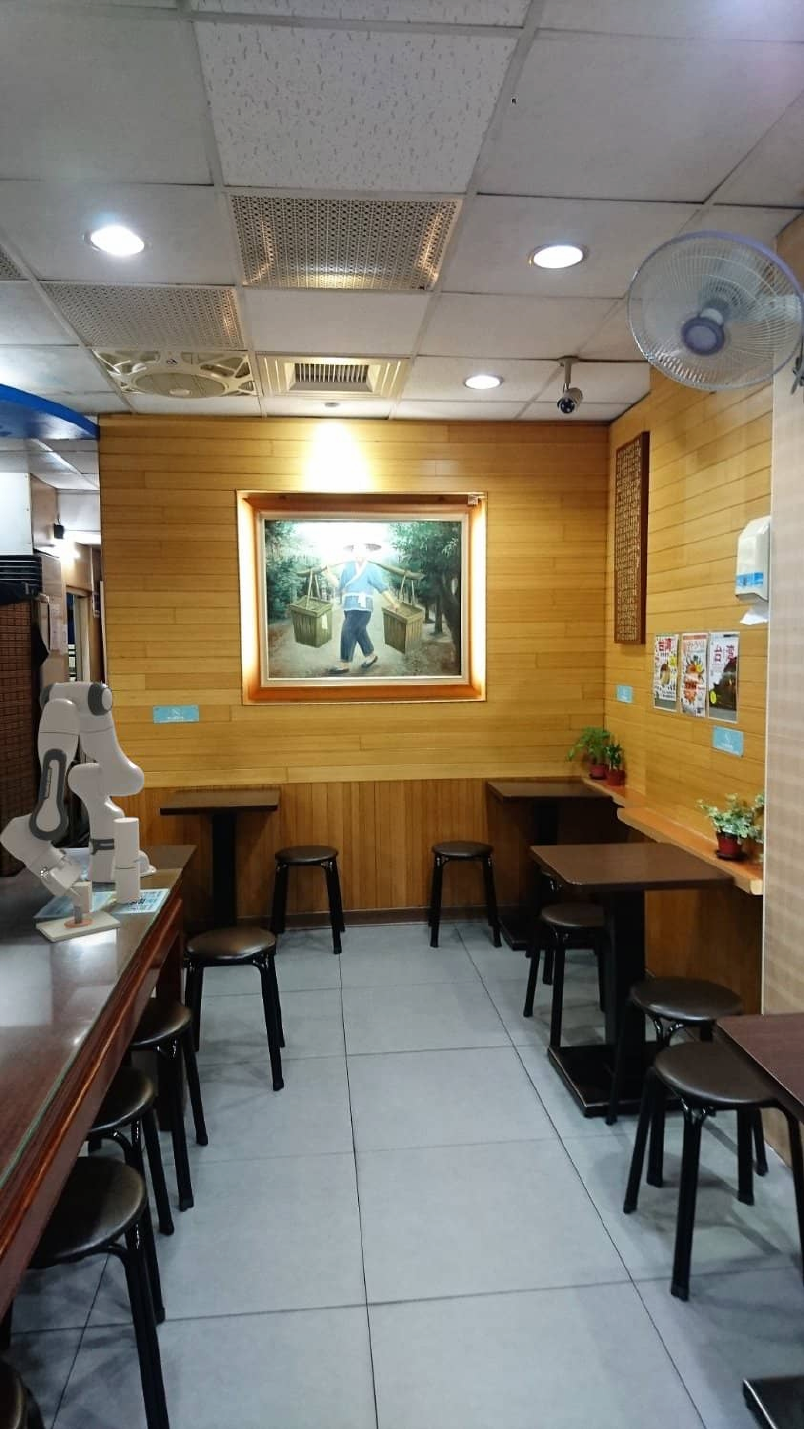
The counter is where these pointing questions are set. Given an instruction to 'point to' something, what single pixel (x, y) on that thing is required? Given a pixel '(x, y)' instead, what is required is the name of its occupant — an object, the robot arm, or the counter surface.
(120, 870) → the cylindrical container
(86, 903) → the square block
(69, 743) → the robot arm
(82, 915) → the base plate
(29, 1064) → the counter surface
